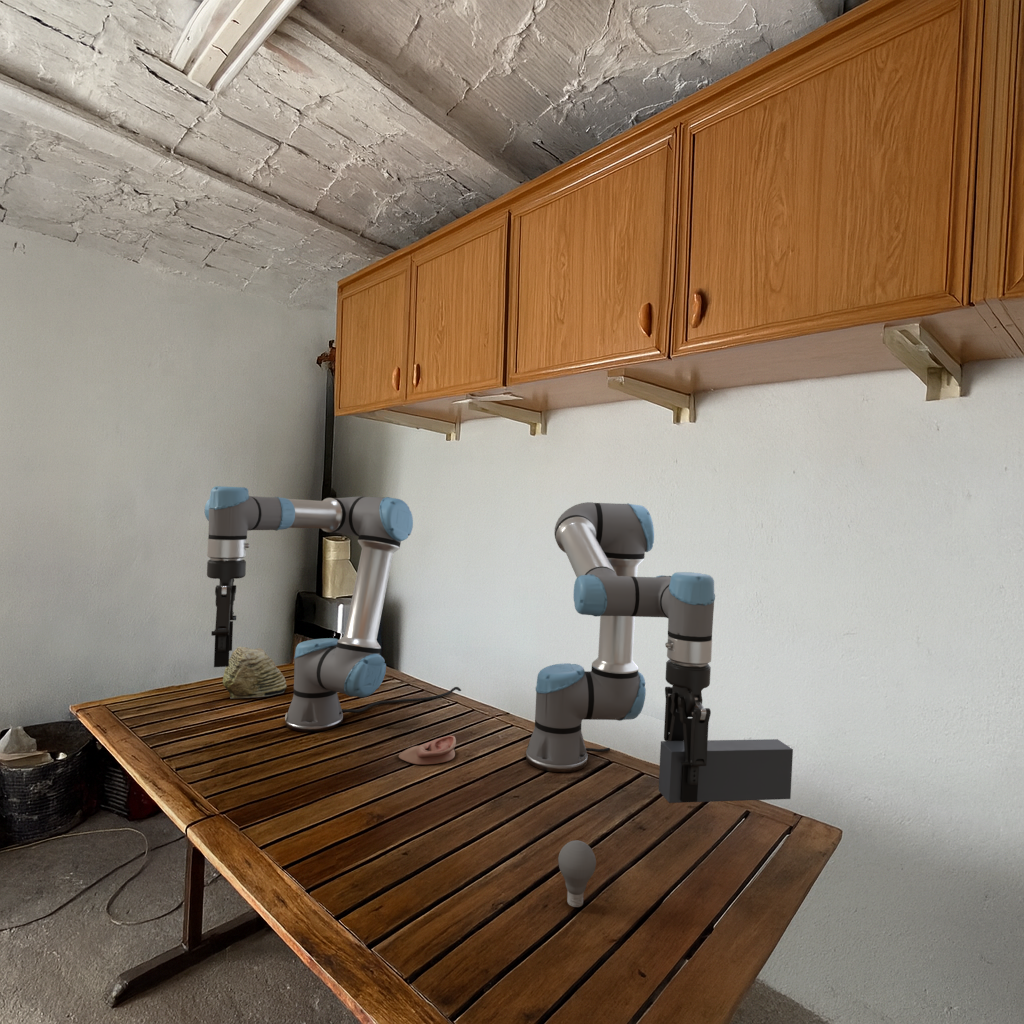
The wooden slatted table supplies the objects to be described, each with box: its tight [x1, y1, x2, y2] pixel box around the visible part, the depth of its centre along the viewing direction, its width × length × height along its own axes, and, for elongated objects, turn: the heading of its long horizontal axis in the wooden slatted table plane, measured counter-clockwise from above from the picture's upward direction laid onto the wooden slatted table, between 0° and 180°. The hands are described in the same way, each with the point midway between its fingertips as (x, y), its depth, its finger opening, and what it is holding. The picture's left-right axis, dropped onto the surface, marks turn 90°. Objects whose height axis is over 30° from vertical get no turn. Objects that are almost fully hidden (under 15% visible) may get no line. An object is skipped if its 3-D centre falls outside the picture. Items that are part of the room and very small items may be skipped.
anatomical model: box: [398, 735, 457, 766], centre depth 157 cm, size 13×4×12 cm
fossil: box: [222, 646, 288, 699], centre depth 198 cm, size 9×18×15 cm, turn 132°
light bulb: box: [557, 839, 597, 908], centre depth 101 cm, size 6×6×10 cm
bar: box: [658, 738, 794, 804], centre depth 112 cm, size 23×5×9 cm, turn 99°
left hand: (223, 658), depth 135 cm, fingers open, 13 cm apart
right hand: (681, 793), depth 111 cm, fingers closed on bar, 5 cm apart
